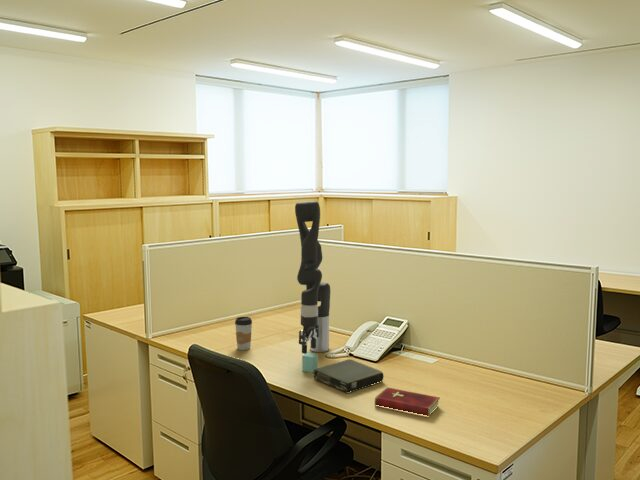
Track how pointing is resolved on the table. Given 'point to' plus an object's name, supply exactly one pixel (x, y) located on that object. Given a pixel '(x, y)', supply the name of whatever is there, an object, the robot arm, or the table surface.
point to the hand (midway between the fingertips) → (308, 350)
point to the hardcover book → (407, 401)
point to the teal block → (309, 362)
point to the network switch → (348, 375)
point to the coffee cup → (243, 332)
